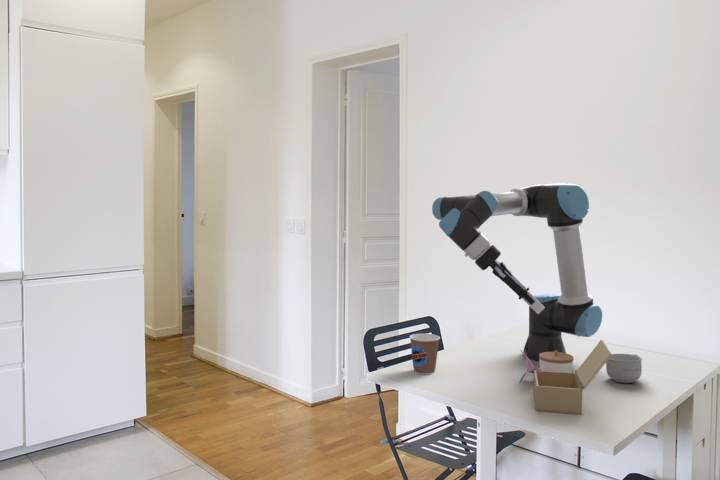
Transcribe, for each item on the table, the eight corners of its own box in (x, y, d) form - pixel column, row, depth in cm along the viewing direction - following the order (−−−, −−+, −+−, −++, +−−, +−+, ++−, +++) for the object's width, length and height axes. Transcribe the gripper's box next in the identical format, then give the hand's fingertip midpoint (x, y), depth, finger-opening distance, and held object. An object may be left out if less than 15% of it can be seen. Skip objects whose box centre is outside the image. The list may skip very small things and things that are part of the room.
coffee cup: (402, 371, 208) (403, 336, 207) (421, 365, 216) (421, 332, 215) (427, 377, 201) (427, 341, 200) (445, 371, 209) (446, 336, 208)
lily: (541, 394, 188) (555, 365, 189) (506, 375, 192) (519, 347, 193) (540, 394, 200) (553, 367, 201) (506, 376, 204) (519, 350, 204)
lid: (608, 352, 165) (612, 354, 165) (600, 338, 180) (603, 341, 180) (580, 387, 167) (584, 390, 167) (574, 371, 183) (577, 373, 182)
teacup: (625, 387, 191) (626, 362, 191) (597, 378, 201) (598, 354, 200) (655, 381, 198) (656, 357, 197) (626, 372, 207) (627, 349, 207)
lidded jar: (572, 376, 203) (573, 348, 203) (572, 385, 193) (573, 356, 193) (539, 373, 207) (539, 345, 206) (537, 382, 197) (538, 353, 196)
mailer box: (536, 410, 170) (536, 386, 170) (533, 393, 186) (534, 370, 185) (581, 414, 168) (582, 389, 167) (575, 396, 183) (576, 373, 183)
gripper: (474, 259, 187) (530, 314, 185) (472, 264, 175) (532, 324, 172) (492, 241, 186) (549, 298, 183) (491, 245, 173) (552, 306, 171)
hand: (541, 310), depth 178 cm, fingers closed
